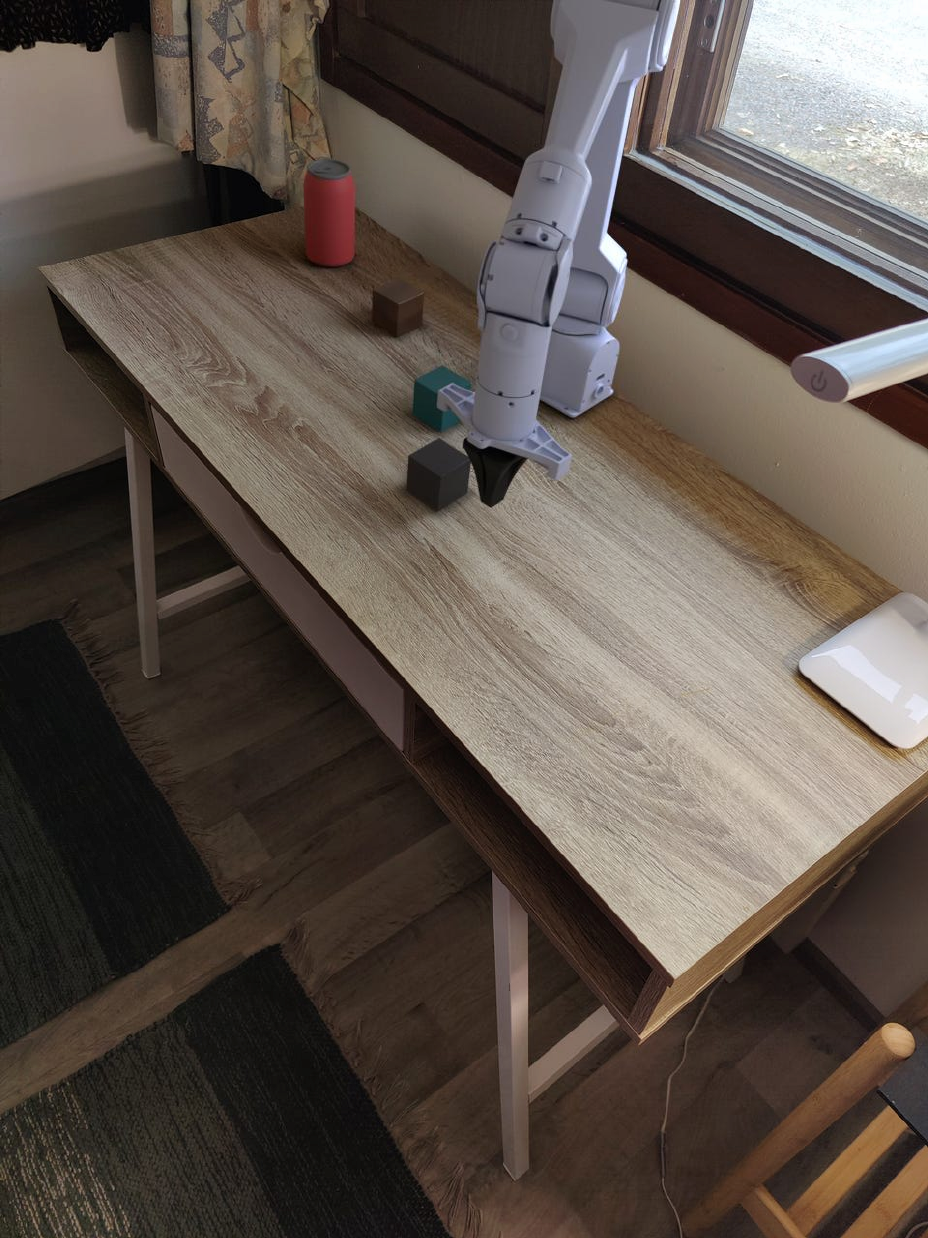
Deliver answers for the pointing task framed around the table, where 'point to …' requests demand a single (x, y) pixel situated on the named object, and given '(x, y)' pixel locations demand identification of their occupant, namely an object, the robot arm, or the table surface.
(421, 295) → the walnut block
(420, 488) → the charcoal block
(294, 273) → the table surface
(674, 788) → the table surface
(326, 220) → the beer can
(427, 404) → the teal block
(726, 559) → the table surface
